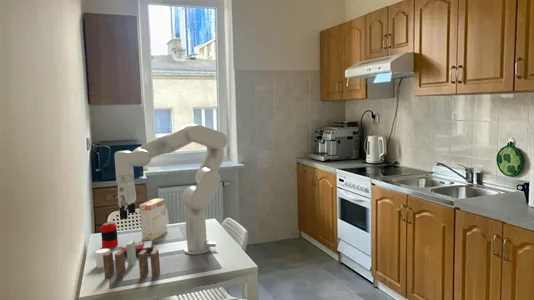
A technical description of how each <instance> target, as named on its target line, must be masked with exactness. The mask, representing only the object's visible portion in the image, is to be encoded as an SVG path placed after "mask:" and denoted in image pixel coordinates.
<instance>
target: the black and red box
mask: <svg viewBox="0 0 534 300" xmlns="http://www.w3.org/2000/svg"><path fill="white" fill-rule="evenodd" d="M126 244H127V243H125V244H123V245H122V246H121V249H120V251H124V257H125V258H127V247H126ZM154 248H155V245H154V240H145V241H138V242H135V252H136V257H139V256H138V254H139V253H140V252H141V251H142V250H147V254H150V253H151V252H152V251H153V249H154ZM154 250H155V249H154Z"/></svg>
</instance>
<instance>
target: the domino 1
mask: <svg viewBox="0 0 534 300" xmlns="http://www.w3.org/2000/svg"><path fill="white" fill-rule="evenodd" d="M113 252H114V251H113V250H110V251H107V252H106V253H105V254H104V255H103V262H104V268H103V271H104V272H103V273H104V278H105V279H110V278H111V277H112V276H113V275H115V267H114V266H115V264H114V263H115V262H114V253H113Z"/></svg>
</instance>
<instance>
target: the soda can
mask: <svg viewBox="0 0 534 300" xmlns="http://www.w3.org/2000/svg"><path fill="white" fill-rule="evenodd" d="M117 228H118V227H117V224H116V223H115V222H113V221H111V222H110V221H109V222H108V221H107V222H105V223H102V224H101V227H100V232H101V243H102V249H104V248H107V249H113V248H116V247H118V246H119V240H118V239H119V238H118V232H117V231H118V229H117Z"/></svg>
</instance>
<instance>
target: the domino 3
mask: <svg viewBox="0 0 534 300" xmlns="http://www.w3.org/2000/svg"><path fill="white" fill-rule="evenodd" d="M135 243H136V241H135V240H129V241H128V243H125V244H126V247H127V257H126V259H127V266H128V267H132V266H134V265H135V264H136V262H137V256H136V252H135Z"/></svg>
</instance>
